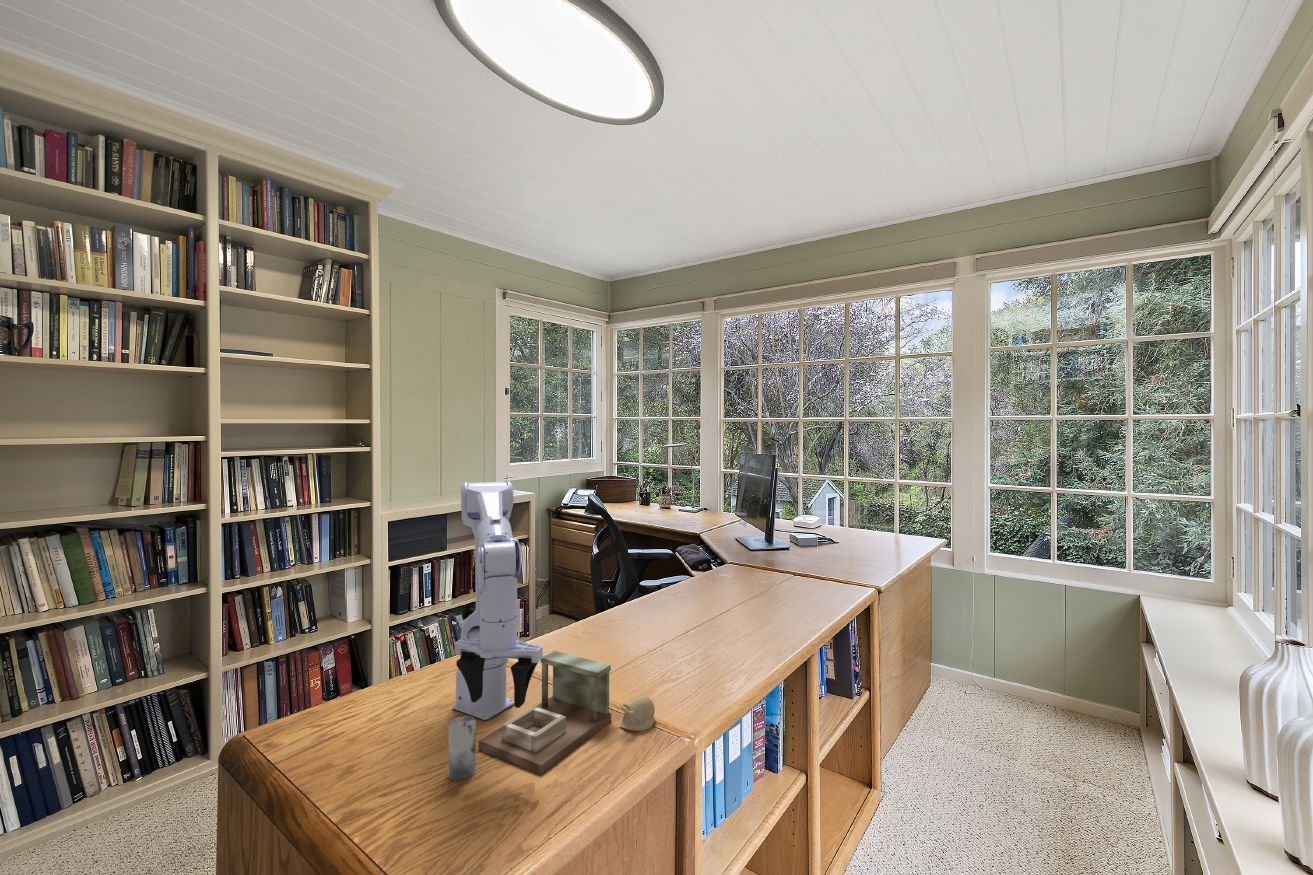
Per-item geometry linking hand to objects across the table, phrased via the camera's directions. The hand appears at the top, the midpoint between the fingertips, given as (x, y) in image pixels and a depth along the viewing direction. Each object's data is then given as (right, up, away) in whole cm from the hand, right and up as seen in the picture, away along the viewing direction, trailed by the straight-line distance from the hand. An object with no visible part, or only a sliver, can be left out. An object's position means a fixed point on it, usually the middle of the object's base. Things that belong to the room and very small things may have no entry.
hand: (498, 702), depth 87 cm
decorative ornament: (+22, -11, +13) cm, 27 cm away
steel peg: (-5, -10, -2) cm, 12 cm away
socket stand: (+6, -10, +10) cm, 15 cm away
